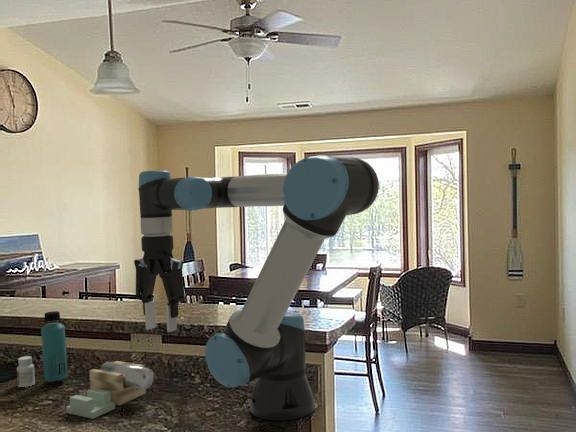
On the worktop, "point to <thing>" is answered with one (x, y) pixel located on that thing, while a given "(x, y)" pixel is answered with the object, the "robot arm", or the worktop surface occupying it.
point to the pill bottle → (25, 372)
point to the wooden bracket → (115, 384)
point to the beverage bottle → (54, 348)
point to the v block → (91, 404)
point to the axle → (131, 374)
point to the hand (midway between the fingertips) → (161, 329)
